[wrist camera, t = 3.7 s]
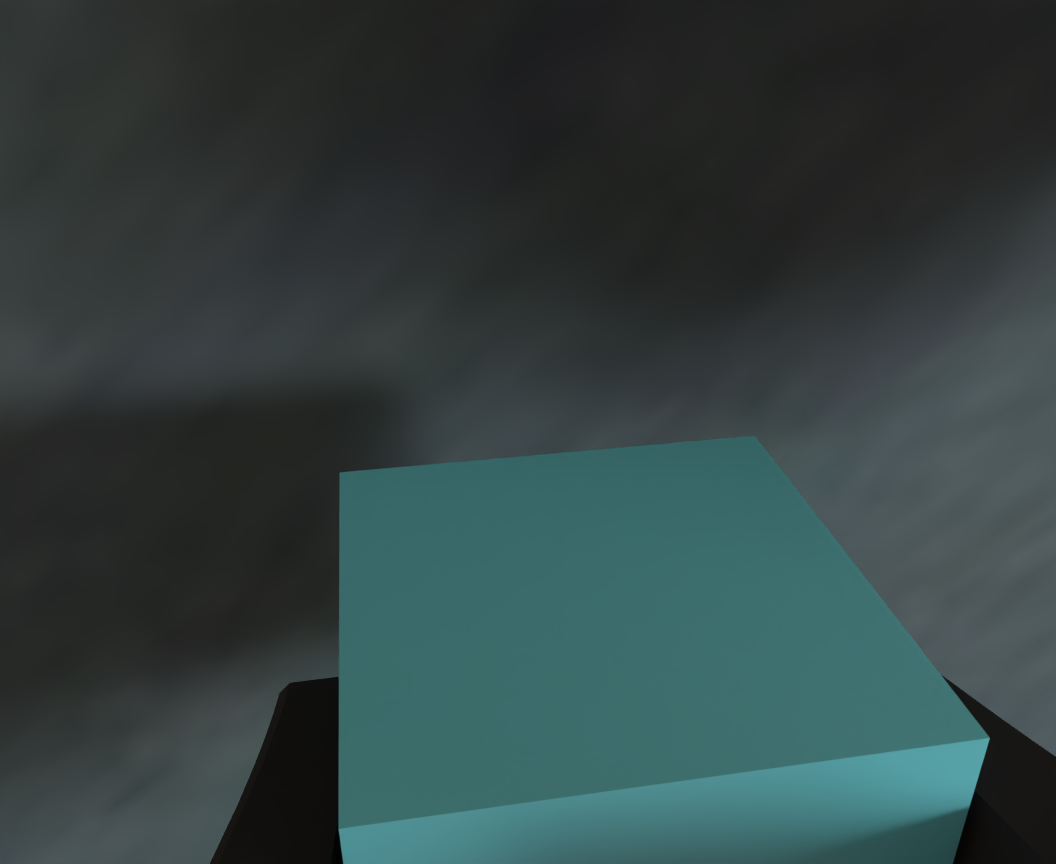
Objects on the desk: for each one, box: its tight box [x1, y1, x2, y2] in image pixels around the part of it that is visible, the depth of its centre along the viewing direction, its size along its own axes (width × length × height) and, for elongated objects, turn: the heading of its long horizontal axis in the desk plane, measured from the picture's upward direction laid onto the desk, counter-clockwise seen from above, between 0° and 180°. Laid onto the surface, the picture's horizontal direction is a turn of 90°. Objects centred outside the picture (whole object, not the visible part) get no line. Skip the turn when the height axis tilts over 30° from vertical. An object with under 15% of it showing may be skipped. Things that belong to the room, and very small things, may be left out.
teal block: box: [338, 436, 990, 864], centre depth 10 cm, size 4×4×4 cm
